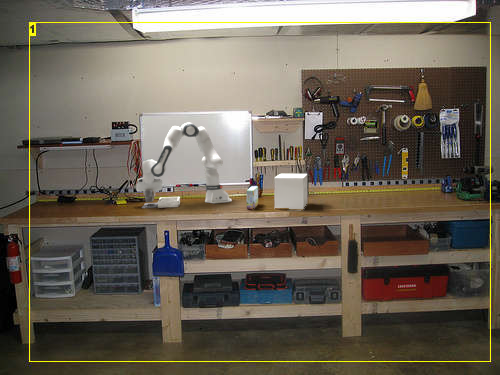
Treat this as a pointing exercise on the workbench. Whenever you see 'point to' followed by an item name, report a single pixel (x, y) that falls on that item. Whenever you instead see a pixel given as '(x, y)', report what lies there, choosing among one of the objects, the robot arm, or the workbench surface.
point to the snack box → (252, 197)
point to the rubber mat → (150, 205)
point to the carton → (168, 202)
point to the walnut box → (149, 195)
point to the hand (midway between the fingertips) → (149, 196)
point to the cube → (290, 191)
